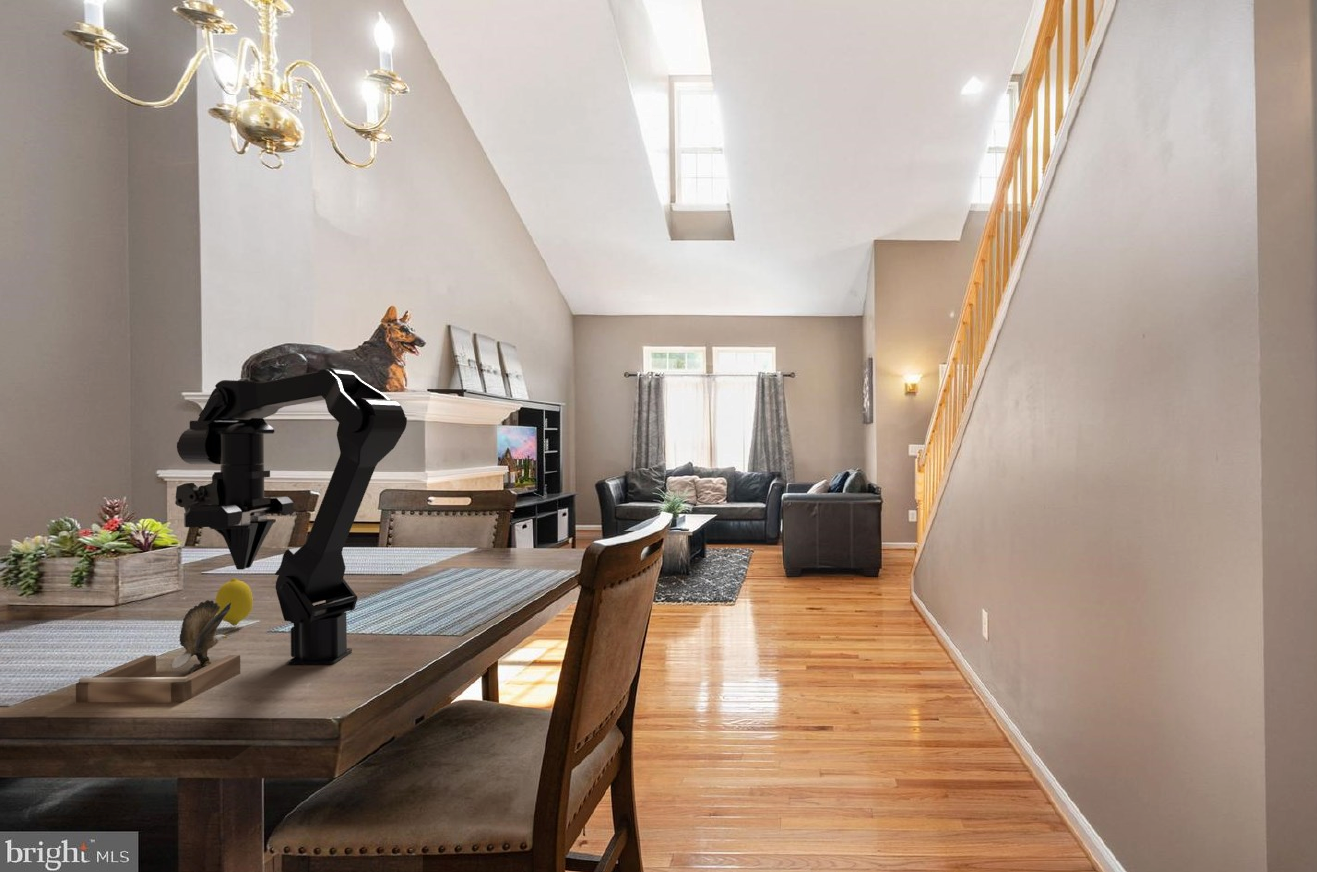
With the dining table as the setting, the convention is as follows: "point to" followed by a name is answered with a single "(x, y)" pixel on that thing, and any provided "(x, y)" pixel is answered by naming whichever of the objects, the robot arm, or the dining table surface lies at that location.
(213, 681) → the wooden tray
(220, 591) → the lemon
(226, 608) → the eagle figurine
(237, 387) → the robot arm
